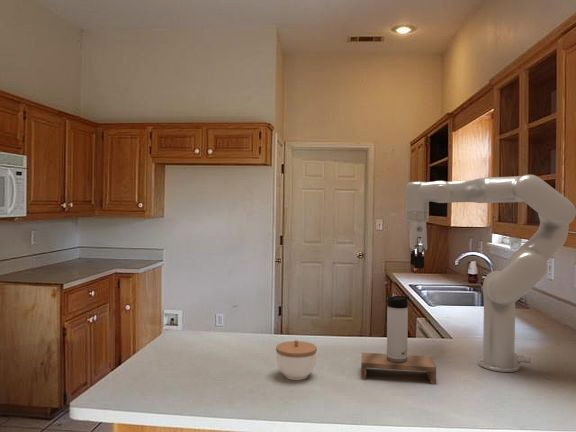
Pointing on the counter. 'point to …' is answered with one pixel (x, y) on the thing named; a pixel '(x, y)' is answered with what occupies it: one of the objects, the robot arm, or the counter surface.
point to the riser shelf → (399, 364)
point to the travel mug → (397, 328)
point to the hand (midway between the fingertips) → (417, 266)
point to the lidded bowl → (296, 359)
